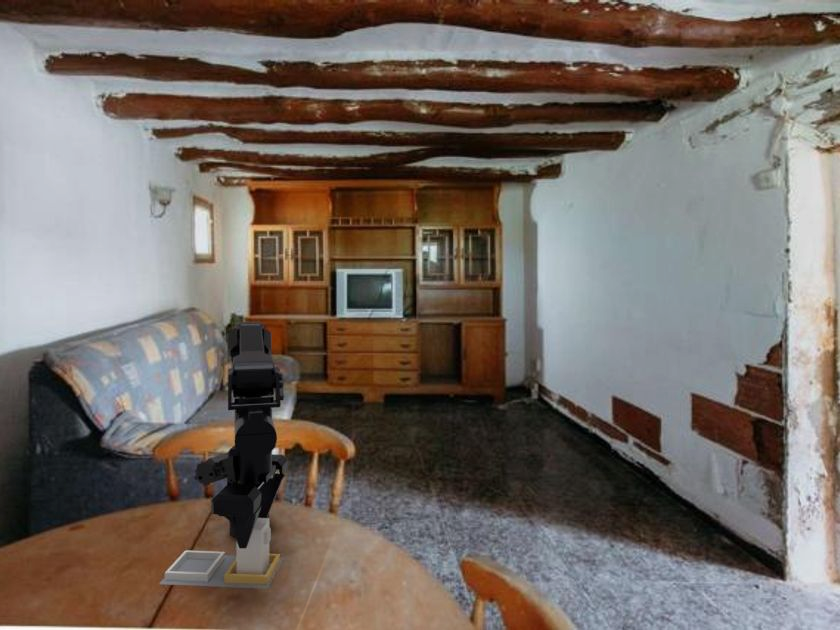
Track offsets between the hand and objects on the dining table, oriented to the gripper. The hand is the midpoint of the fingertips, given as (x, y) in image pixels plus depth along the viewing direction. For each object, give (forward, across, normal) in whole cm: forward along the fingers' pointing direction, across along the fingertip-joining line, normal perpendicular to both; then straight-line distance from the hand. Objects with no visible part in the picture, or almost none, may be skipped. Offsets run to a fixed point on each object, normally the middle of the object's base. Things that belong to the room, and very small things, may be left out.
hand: (253, 533), depth 85 cm
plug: (+6, 0, 0) cm, 6 cm away
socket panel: (+7, 0, -5) cm, 8 cm away
